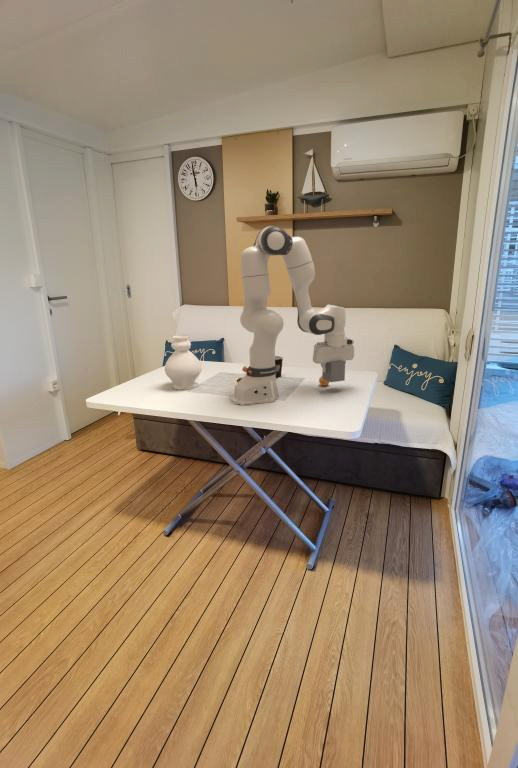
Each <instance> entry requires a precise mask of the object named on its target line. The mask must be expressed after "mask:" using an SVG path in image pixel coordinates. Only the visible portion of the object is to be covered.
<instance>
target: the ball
mask: <svg viewBox="0 0 518 768" xmlns="http://www.w3.org/2000/svg"><path fill="white" fill-rule="evenodd" d="M318 383H319V384H320V385H321V386H323V387H325V386H328V385H329V384H330V382H329V381H326V380H324V379H322V375H321V376H320V377H319V379H318Z"/></svg>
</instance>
